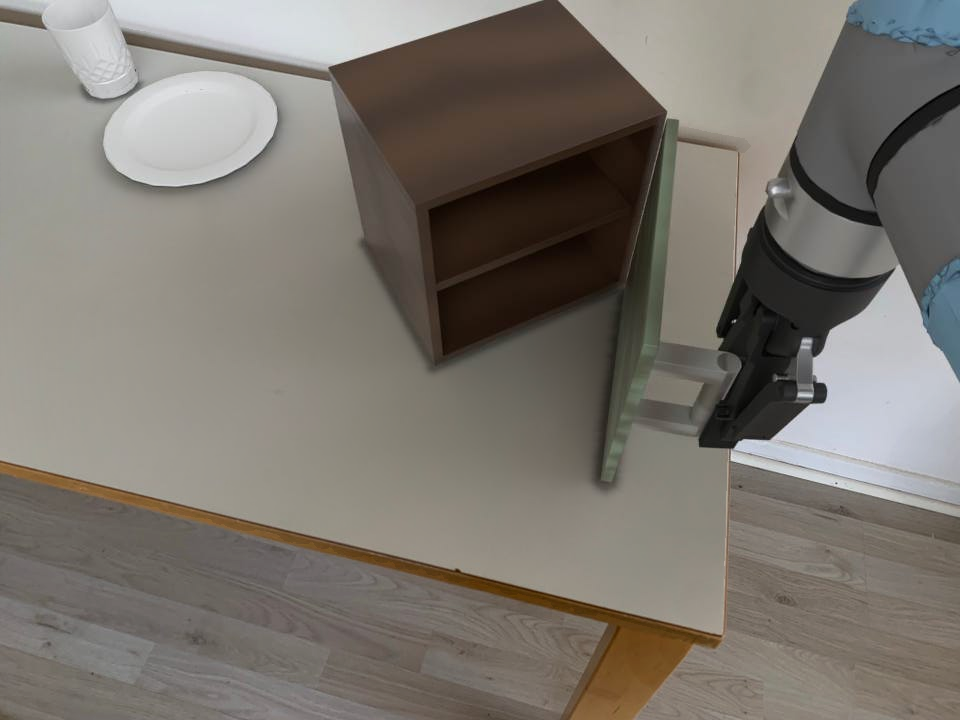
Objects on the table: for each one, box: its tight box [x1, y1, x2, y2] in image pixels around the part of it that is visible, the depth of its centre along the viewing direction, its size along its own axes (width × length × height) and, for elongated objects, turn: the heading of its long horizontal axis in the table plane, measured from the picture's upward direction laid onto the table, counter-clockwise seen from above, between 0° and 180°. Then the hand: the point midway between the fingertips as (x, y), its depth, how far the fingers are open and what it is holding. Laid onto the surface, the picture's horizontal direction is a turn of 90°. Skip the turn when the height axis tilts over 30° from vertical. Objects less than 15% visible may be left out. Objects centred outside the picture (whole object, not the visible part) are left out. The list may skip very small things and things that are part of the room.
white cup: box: [41, 0, 139, 100], centre depth 91 cm, size 8×8×10 cm
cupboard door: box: [600, 117, 741, 483], centre depth 61 cm, size 7×22×22 cm, turn 168°
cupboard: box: [327, 0, 668, 367], centre depth 69 cm, size 18×22×22 cm
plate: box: [102, 70, 279, 189], centre depth 89 cm, size 21×21×2 cm
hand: (713, 427), depth 59 cm, fingers open, 2 cm apart
